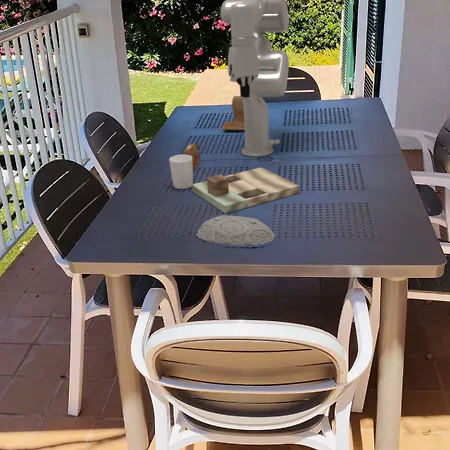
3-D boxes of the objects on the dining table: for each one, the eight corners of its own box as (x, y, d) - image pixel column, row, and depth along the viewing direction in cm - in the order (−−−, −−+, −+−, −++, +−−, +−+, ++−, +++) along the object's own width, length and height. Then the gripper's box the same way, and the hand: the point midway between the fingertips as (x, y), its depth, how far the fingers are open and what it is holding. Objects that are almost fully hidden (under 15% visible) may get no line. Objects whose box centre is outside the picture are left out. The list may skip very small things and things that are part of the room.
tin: (191, 174, 219) (189, 152, 216) (182, 174, 220) (180, 152, 216) (200, 161, 233) (199, 140, 229) (193, 161, 233) (191, 140, 230)
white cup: (177, 191, 205) (174, 163, 201) (168, 184, 211) (165, 157, 207) (198, 186, 208) (195, 159, 204) (188, 179, 214) (186, 153, 210)
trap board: (261, 173, 216) (261, 167, 215) (299, 192, 197) (299, 185, 196) (192, 191, 204) (191, 184, 203) (225, 213, 185) (224, 206, 184)
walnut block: (221, 188, 198) (220, 174, 196) (228, 193, 194) (228, 178, 192) (207, 192, 196) (206, 177, 193) (215, 196, 192) (214, 182, 189)
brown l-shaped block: (259, 125, 274) (258, 92, 268) (255, 133, 263) (254, 99, 257) (226, 125, 277) (224, 93, 271) (222, 133, 266) (220, 99, 260)
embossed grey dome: (205, 219, 182) (203, 200, 178) (285, 231, 174) (285, 211, 170) (184, 246, 169) (182, 226, 166) (270, 261, 161) (270, 240, 158)
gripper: (256, 38, 207) (257, 91, 215) (218, 43, 201) (221, 98, 208) (267, 40, 201) (269, 95, 209) (229, 46, 195) (232, 102, 202)
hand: (245, 96), depth 208 cm, fingers closed
